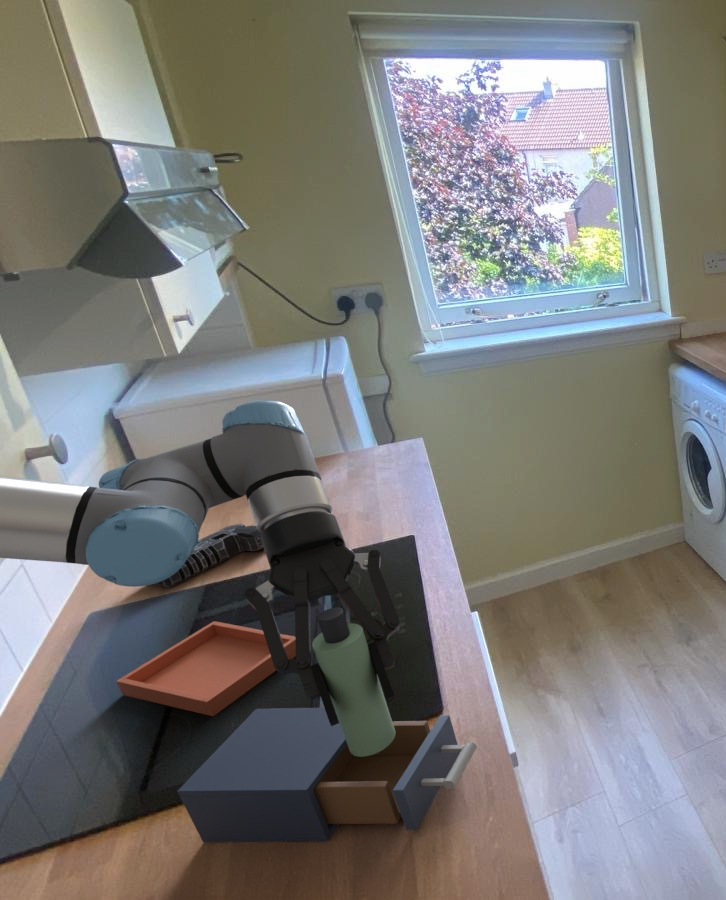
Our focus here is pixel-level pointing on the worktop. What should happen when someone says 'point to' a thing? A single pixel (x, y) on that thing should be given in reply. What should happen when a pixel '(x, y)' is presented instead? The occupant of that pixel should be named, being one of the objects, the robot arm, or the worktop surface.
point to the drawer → (394, 776)
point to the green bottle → (353, 684)
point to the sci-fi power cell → (217, 550)
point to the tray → (206, 669)
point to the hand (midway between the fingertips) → (363, 710)
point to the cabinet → (266, 779)
